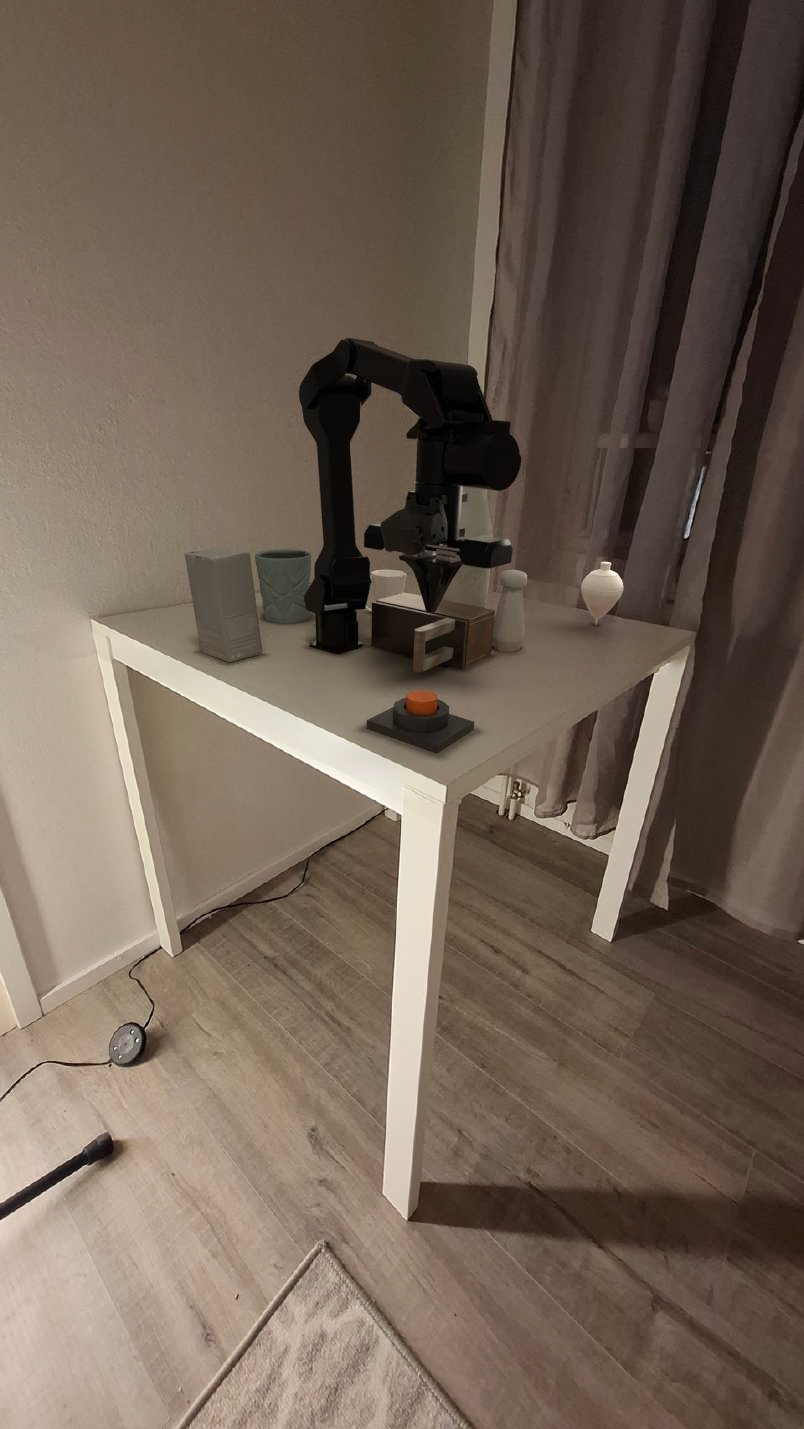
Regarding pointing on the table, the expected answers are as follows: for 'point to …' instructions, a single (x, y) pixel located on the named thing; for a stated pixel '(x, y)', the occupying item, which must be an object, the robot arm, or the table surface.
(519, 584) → the salt shaker
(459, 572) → the glass bottle
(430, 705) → the release button
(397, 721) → the button block
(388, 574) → the cup
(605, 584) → the spinning top
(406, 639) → the door
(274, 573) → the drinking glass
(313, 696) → the table surface
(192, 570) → the cosmetic box
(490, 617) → the cabinet
